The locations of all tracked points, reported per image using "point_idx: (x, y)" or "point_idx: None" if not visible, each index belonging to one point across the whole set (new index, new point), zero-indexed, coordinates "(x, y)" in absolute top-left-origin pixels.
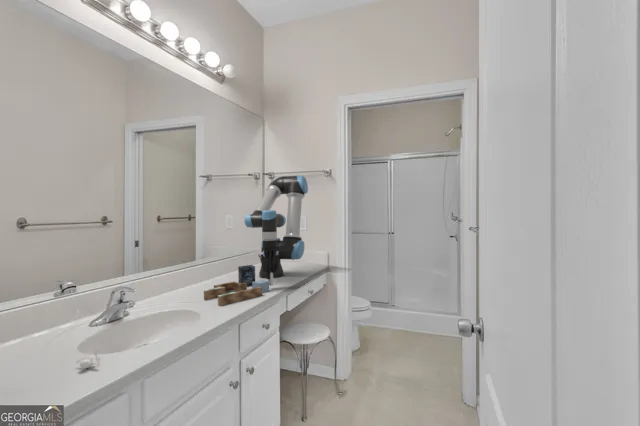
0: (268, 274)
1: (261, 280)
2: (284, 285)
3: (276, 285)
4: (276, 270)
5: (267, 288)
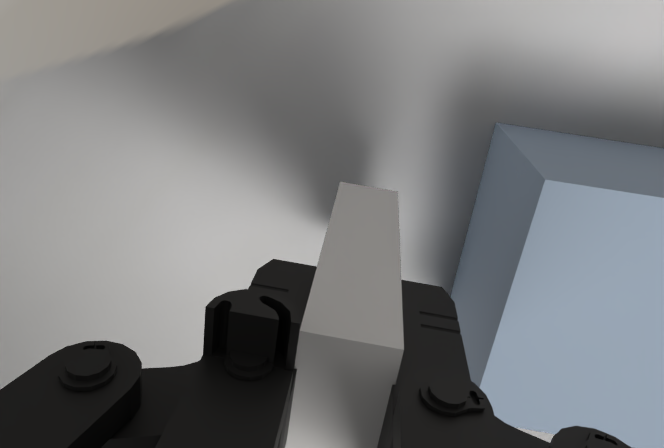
0: (456, 369)
1: (523, 396)
2: (54, 166)
3: (143, 277)
4: (108, 343)
5: (550, 144)
